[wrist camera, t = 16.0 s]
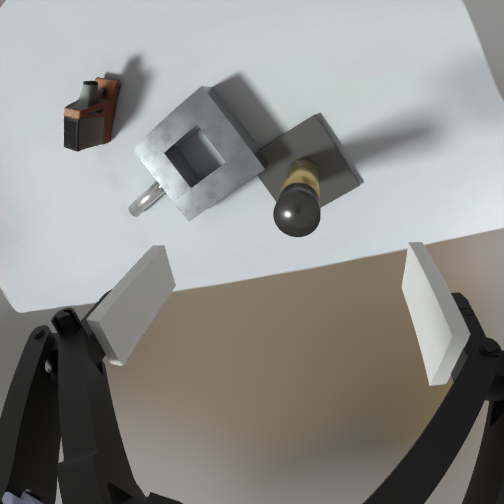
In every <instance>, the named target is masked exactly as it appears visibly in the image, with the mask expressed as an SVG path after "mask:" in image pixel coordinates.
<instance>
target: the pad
mask: <svg viewBox="0 0 504 504" xmlns="http://www.w3.org/2000/svg"><path fill="white" fill-rule="evenodd" d="M259 151H260V153H261V154H262V156H263V157H264V158H265V160H266V161H267V162H268V166H267V167H266V169H265V170H264V171H262V172H260V173H259V174H257V176H258V177H259V178H260V180H261V181H262V182H263V184H264V185H265V187H266V188H267V189H268V191H269V192H270V194H271V195H272V196H273V198H274V199H275V201H276V202H277V200H278V197H279V194H280V191H281V189H282V186H283V183H284V180H285V178H286V175H287V172H288V169H289V167H290V165H291V163H292V162H293V161H294V160H296V159H299V158H307V159H310V160H311V161H313V162H314V163H315V164H316V166H317V168H318V175H319V194H320V208H321V207H323V206H324V205H326V204H328V203H330V202H331V201H333V200H335V199H337V198H338V197H340V196H342V195H344V194H346V193H347V192H349V191H351V190H353V189H354V188H356V187H358V186H360V185H359V183H358V182H357V180H356V178H355V176H354V175H353V173H352V171H351V170H350V168H349V166H348V165H347V163H346V161H345V160H344V158H343V157H342V155H341V153H340V152H339V150H338V149H337V147H336V145H335V144H334V142H333V141H332V139H331V138H330V136H329V135H328V133H327V132H326V130H325V129H324V127H323V126H322V124H321V123H320V121H319V120H318V118H317V117H316V115H313V116H312V117H310V118H309V119H307V120H305V121H304V122H302V123H301V124H299V125H297V126H296V127H294V128H293V129H291V130H290V131H288V132H286V133H285V134H283V135H282V136H280V137H279V138H277V139H276V140H274V141H273V142H271V143H270V144H268V145H267V146H265V147H264V148H262V149H261V150H259Z"/></svg>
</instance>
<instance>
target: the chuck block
mask: <svg viewBox="0 0 504 504" xmlns="http://www.w3.org/2000/svg"><path fill="white" fill-rule="evenodd" d="M199 128H200V129H201V130H202V132H203V133H204V134H205V135H206V137H207V138H208V139H209V141H210V142H211V143H212V145H213V146H214V147H215V149H216V150H217V151H218V152H219V154H220V155H221V156H222V158H223V159H224V160H225V163H224V164H223V165H221V166H220V167H219V168H217V169H216V170H214V171H213V172H212V173H210V174H209V175H208V176H206V177H205V178H204V179H202V180H200V179H199V177H198V176H197V175H196V173H195V172H194V171H193V169H192V168H191V167H190V166H189V164H188V163H187V162H186V160H185V159H184V158H183V156H182V155H181V154H180V153H179V151H178V150H177V149H176V147H177V146H179V145H180V144H181V143H182V142H183V141H184V140H186V139H187V138H188V137H189V136H190V135H192V134H193V133H194V132H195V131H196V130H198V129H199ZM133 150H134V151H135V153H136V154H137V155H138V157H139V158H140V159H141V161H142V162H143V163H144V165H145V166H146V167H147V169H148V170H149V171H150V172H151V174H152V175H153V176H154V178H155V179H156V180H157V181H156V182H155V183H154V184H153V185H151V186H150V187H149V188H148V189H147V190H146V191H145V192H144V193H143V194H142V195H141V196H140V197H138V198H137V199H136V200H135V201H134V202H133V203H132V204H131V205H130V206H129V212H130V213H131V214H132V215H133V216H135V217H137V216H139V215H140V214H141V213H142V212H143V211H144V210H145V209H146V208H148V207H149V206H150V205H151V204H152V203H153V202H154V201H156V200H157V199H158V198H159V197H160V196H161V195H163V194H164V193H165V192H166V193H167V194H168V196H169V197H170V198H171V200H172V201H173V202H174V203H175V205H176V206H177V207H178V209H179V210H180V211H181V212H182V214H183V215H184V216H185V217H186V219H187V220H188V221H191V220H192V219H194V218H195V217H196V216H198V215H199V214H201V213H202V212H203V211H205V210H206V209H208V208H209V207H210V206H212V205H213V204H215V203H216V202H218V201H219V200H220V199H222V198H223V197H225V196H226V195H228V194H229V193H231V192H232V191H234V190H235V189H237V188H238V187H239V186H241V185H242V184H244V183H245V182H247V181H248V180H250V179H251V178H253V177H254V176H256V175H257V174H259V173H260V172H262V171H264V170H265V169H266V167H267V166H268V162H267V161H266V160H265V158H264V157H263V156H262V154H261V153H260V151H259V150H260V149H259V148H258V147H257V145H256V144H255V143H254V141H253V140H252V139H251V137H250V136H249V135H248V133H247V132H246V131H245V129H244V128H243V127H242V125H241V124H240V123H239V121H238V120H237V119H236V117H235V116H234V115H233V114H232V112H231V111H230V110H229V108H228V107H227V106H226V105H225V103H224V102H223V101H222V99H221V98H220V97H219V96H218V94H217V93H216V92H215V91H214V89H213V88H212V87H203V86H201V87H200V88H199V89H198V90H197V91H195V92H194V93H193V94H192V95H191V96H190V97H188V98H187V99H186V100H185V101H184V102H183V103H181V104H180V105H179V106H178V107H177V108H176V109H175V110H174V111H172V112H171V113H170V114H169V115H168V116H167V117H166V118H165V119H164V120H163V121H162V122H160V123H159V124H158V125H157V126H156V127H155V128H154V129H153V130H152V131H151V132H150V133H149V134H148V135H147V136H146V137H145V138H144V139H143V140H142V141H141V142H140V143H139V144H138V145H137V146H136V147H135V148H134V149H133Z"/></svg>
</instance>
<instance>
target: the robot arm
mask: <svg viewBox="0 0 504 504" xmlns="http://www.w3.org/2000/svg"><path fill="white" fill-rule="evenodd" d="M175 286H176V285H175V282H174V278H173V275H172V271H171V268H170V264H169V261H168V257H167V254H166V250H165V246H164V245H161V246H152V247H151V248H150V249H149V250H148V251H147V252H146V253H145V255H144V256H143V257H142V258H141V259H140V260H139V261H138V262H137V263H136V264H135V265H134V266H133V267H132V268H131V269H130V270H129V272H128V273H127V274H126V275H125V276H124V277H123V278H122V279H121V280H120V281H119V283H118V284H117V285H116V286H115V287H114V288H113V289H111V290H110V291H108V292H107V293H105V294H104V295H103V296H102V297H101V299H100V300H99V302H97V303H96V304H95V306H94V307H93V308H92V309H91V310H90V311H89V312H88V314H86V316H85V317H84V318H83V319H82V320H81V321H80V320H79V318H78V316H77V314H76V312H75V310H74V309H72V308H65V309H63V310H60V311H59V312H57V313H56V314H55V315H54V316H53V318H52V320H51V321H52V323H53V325H54V327H55V329H56V330H57V332H58V333H52V332H51V330H50V328H49V327H48V326H46V325H43V326H39V327H37V328H35V329H34V330H33V331H32V333H31V334H30V336H29V338H28V341H27V343H26V345H25V348H24V350H23V353H22V355H21V358H20V360H19V363H18V366H17V368H16V371H15V374H14V377H13V379H12V382H11V385H10V388H9V391H8V394H7V398H6V401H5V404H4V407H3V411H2V414H1V418H0V504H55V500H56V489H57V476H58V482H59V487H60V493H61V498H62V503H63V504H182V503H181V502H179V501H176V500H173V499H170V498H167V497H164V496H160V495H158V494H155V493H152V492H150V495H149V497H145V495H144V494H143V492H142V490H141V489H140V488H139V486H138V485H137V484H136V482H135V480H134V478H133V474H132V471H131V469H130V465H129V462H128V459H127V456H126V453H125V449H124V446H123V442H122V439H121V435H120V432H119V428H118V424H117V420H116V416H115V412H114V408H113V403H112V398H111V394H110V389H109V384H108V379H107V373H106V368H105V364H104V362H103V360H102V359H103V358H104V356H105V355H106V356H107V358H108V360H109V361H110V363H112V364H116V365H120V366H123V365H124V364H125V362H126V361H127V359H128V357H129V356H130V354H131V353H132V351H133V350H134V348H135V346H136V345H137V343H138V342H139V340H140V339H141V337H142V336H143V334H144V332H145V331H146V329H147V328H148V326H149V325H150V323H151V322H152V320H153V319H154V317H155V316H156V314H157V313H158V311H159V310H160V308H161V307H162V305H163V304H164V302H165V301H166V299H167V298H168V296H169V295H170V293H171V292H172V290H173V289H174V287H175ZM402 290H403V293H404V296H405V299H406V302H407V305H408V308H409V311H410V314H411V318H412V321H413V324H414V327H415V331H416V334H417V338H418V341H419V345H420V348H421V352H422V356H423V360H424V364H425V368H426V372H427V376H428V380H429V385H430V386H432V385H439V384H446V383H447V381H448V379H449V377H450V375H452V378H453V384H452V386H451V388H450V389H449V391H448V393H447V394H446V396H445V398H444V400H443V401H442V403H441V405H440V406H439V408H438V409H437V411H436V413H435V414H434V416H433V418H432V419H431V420H430V422H429V423H428V425H427V426H426V428H425V429H424V431H423V432H422V433H421V435H420V436H419V438H418V439H417V440H416V442H415V443H414V445H413V446H412V447H411V449H410V450H409V451H408V453H407V454H406V455H405V456H404V458H403V459H402V460H401V461H400V463H399V464H398V465H397V466H396V468H395V469H394V470H393V471H392V472H391V474H390V475H389V476H388V477H387V478H386V479H385V480H384V482H383V483H382V484H381V485H380V486H379V487H378V488H377V489H376V490H375V491H374V493H373V494H372V495H371V496H370V497H369V498H368V499H367V500H366V501H365V502H364V503H363V504H424V503H425V502H426V500H427V499H428V498H429V496H430V495H431V493H432V492H433V491H434V489H435V488H436V486H437V485H438V483H439V482H440V480H441V479H442V478H443V476H444V475H445V473H446V472H447V470H448V468H449V467H450V465H451V464H452V462H453V460H454V459H455V457H456V455H457V454H458V452H459V450H460V449H461V447H462V445H463V443H464V441H465V440H466V438H467V436H468V434H469V432H470V430H471V428H472V426H473V424H474V422H475V420H476V418H477V416H478V414H479V412H480V410H481V407H482V405H483V403H484V401H485V400H487V401H489V407H488V413H487V418H486V423H485V428H484V433H483V437H482V442H481V446H480V450H479V454H478V457H477V461H476V464H475V468H474V471H473V474H472V477H471V480H470V483H469V486H468V489H467V492H466V495H465V497H464V500H463V502H462V504H504V351H502V350H501V348H500V346H499V345H498V343H497V342H495V341H494V340H493V339H491V338H487V337H486V336H485V334H484V331H483V329H482V327H481V326H480V323H479V321H478V319H477V317H476V316H475V313H474V311H473V310H472V309H471V306H470V304H469V302H468V300H467V299H466V298H465V297H464V296H463V295H462V294H461V293H450V291H449V289H448V287H447V285H446V283H445V281H444V279H443V278H442V276H441V274H440V272H439V270H438V269H437V267H436V265H435V263H434V261H433V260H432V258H431V256H430V255H429V253H428V251H427V250H426V248H425V246H424V245H423V243H422V242H409V244H408V252H407V259H406V265H405V271H404V277H403V283H402ZM45 364H46V365H47V367H48V368H49V369H48V372H46V370H45ZM61 437H62V447H63V454H64V461H63V462H60V463H58V460H59V449H60V440H61Z"/></svg>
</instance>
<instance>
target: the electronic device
mask: <svg viewBox="0 0 504 504" xmlns="http://www.w3.org/2000/svg"><path fill="white" fill-rule="evenodd" d="M119 88H120V84H119V81H118V80H111V79H104V78H99V77H97V78H96V79H95V81H84V82H83V88H82V91H81V94H80V97H79V100H77V101H76V102H73V103H71V104H70V105H68V106H66V107H65V111H64V147H65V148H68V149H71V150H74V151H80V150H83V149H86V148H89V147H93V146H97V145H100V144H106V143H109V142H110V135H111V128H112V123H113V117H114V111H115V103H116V98H117V95H118V91H119Z"/></svg>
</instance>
